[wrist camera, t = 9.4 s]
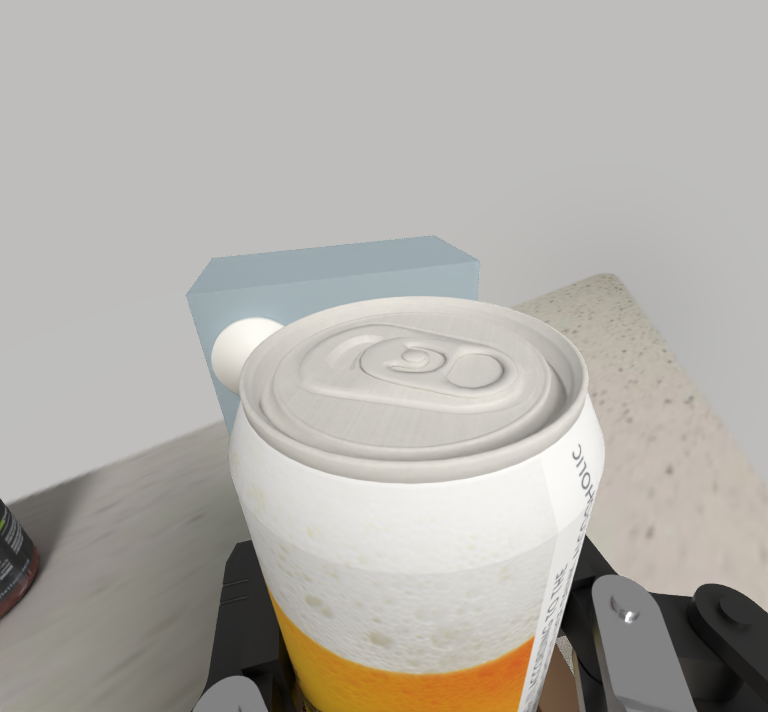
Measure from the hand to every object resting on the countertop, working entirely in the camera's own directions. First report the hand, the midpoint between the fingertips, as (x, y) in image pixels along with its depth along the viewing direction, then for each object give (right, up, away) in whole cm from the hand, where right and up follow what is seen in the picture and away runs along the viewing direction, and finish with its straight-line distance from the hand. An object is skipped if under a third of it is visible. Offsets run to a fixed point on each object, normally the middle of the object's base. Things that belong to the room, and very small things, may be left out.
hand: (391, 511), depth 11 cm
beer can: (+1, -9, +2) cm, 9 cm away
